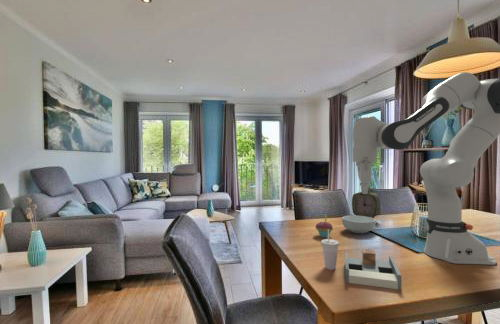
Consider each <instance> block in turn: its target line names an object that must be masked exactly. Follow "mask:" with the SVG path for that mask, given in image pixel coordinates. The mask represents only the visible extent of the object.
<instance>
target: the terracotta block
mask: <svg viewBox="0 0 500 324" xmlns="http://www.w3.org/2000/svg"><path fill="white" fill-rule="evenodd" d="M361 253H362V254H361V255H362V256H361V259H363V264H370V265H376V260H377V259H376V251H375V249H370V248H369V249H367V248H362V252H361Z"/></svg>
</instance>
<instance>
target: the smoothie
mask: <svg viewBox="0 0 500 324" xmlns="http://www.w3.org/2000/svg"><path fill="white" fill-rule="evenodd" d="M320 243H321V246H322V253H323V260H324V267H325V269H327V270H329V271H331V270H336V269H337V262H338V260H337V258H338V251H339V246H340V242H339V240H337V239H333V238H330V236H329V230H328V237H327V238H326V239H325V238H324V239H321V242H320Z"/></svg>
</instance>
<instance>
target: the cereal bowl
mask: <svg viewBox="0 0 500 324" xmlns="http://www.w3.org/2000/svg"><path fill="white" fill-rule="evenodd" d="M341 222H342V223H341V224H342V225H343V226H344V228H345V229H347V230H348V231H350V233H351V232H352V233H355V234H366V233H367V232H370V231H373V230H374V229H375V227H376V224H377V223H376V222H377V221H376V219H375V218H374V219H373V218H372V217H366V216H357V215H344V216H342V217H341Z"/></svg>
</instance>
